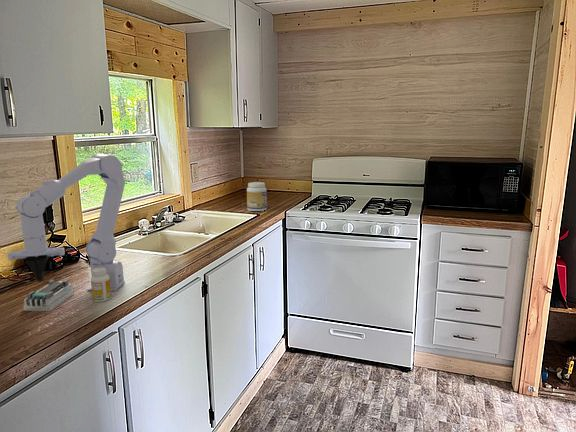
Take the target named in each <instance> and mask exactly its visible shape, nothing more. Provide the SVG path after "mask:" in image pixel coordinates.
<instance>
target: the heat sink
mask: <svg viewBox="0 0 576 432" xmlns="http://www.w3.org/2000/svg"><path fill="white" fill-rule="evenodd" d="M53 282H56V281H55V279H50V280H48V284H46V285H45V286H43V287H42V288H40V289H39V290H37V291H36V290H35V291H34V290H32V291H29V292H28V293H27V294H26V296H27V297H26V298H24V299H23V304H24V305H23V306H22V307H23V311H24V312H26V311H27V312H28V311H30V312H52V310H54V309H55V308H56V307H58V306H60V305H61V304H62V303H63V302H65V301H66V300H68V299H69V298H71V296H73V295H74V294H75V293H74V292H75V291H74V290H75V289H73V288H72V287H73V286H72V283H69V282H70V281H69V279H64V280H63V281H62V282H63V285H61V286H60V287H58V288H57V289H56V290H54V291H53V292H52V291H50V292H49V293H47V294H46V298H32V295H33V294H34V293H36V292H40V291H41V290H43V289H44V288H46V287H47V286H49V285H50V284H52V283H53Z"/></svg>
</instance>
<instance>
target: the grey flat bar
mask: <svg viewBox="0 0 576 432" xmlns="http://www.w3.org/2000/svg"><path fill="white" fill-rule="evenodd" d="M61 285H63V281H55V282H53V283H52V284H50V285H49V286H47V287H46V288H44V289H43V290H41V291H40V292H37V291H35V292H36V293H34V294H33V295H32V298H46V294H47V293H49V292H50V291H52V292H53V291H54V290H56V289H57V288H58V287H60V286H61Z"/></svg>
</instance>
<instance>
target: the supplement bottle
mask: <svg viewBox="0 0 576 432" xmlns="http://www.w3.org/2000/svg"><path fill="white" fill-rule="evenodd" d="M106 273H107V271H106V268H103V267H100V268H95V269H93V270H92V274H93V275H94V276H91V277H90V287H92V290H91V295H92V301H93V302H95V303H102V302H107V301H109V300H110V299H112V291H111V288H110V278H109V275H107V274H106Z"/></svg>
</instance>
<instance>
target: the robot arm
mask: <svg viewBox="0 0 576 432" xmlns="http://www.w3.org/2000/svg"><path fill="white" fill-rule="evenodd" d="M123 166H124V165H123V163H122V162H121V160H120V159H119V158H118V157H117V156H116V155H113V154H102V153H94V154H93V155H92V156H91V157H87V158H85V159H84V160H83V161H82V162H81V163H79V164H78V165H77V166H75V167H74V168H72V169H71V170H70V171H68V172H67V173H66V174H64V175H63V176H61V178H59V179H58V180H57V179H50V180H48V179H46V180H44V181H43V184H42V185H41V186H39V187H37V188H35V189H34V190H30V191H29V192H28V195H23V196H21V197H19V198H18V200H17V202H16V205H15V210H16V211H17V212H18V213H19V216H20V224H21V231H22V239H23V246H24V249H22V250H16V251H9V252H8V253H7V258H8V261H13V260H19V259H26V261H25V264H26V265H27V266H28V267H29V269H31V271H32V273H33V274H34V276H35V279H36V281H37V282H42V281H44V279H45V270H46V266H47V262H48V260H49V257H52V256H53V257H54V256H60V257H61V256H65V253H66V252H65V247H48V243H47V236H46V229H45V228H46V227H45V223H44V216H43V214H44V213H45V211H46V208H48V207H49V206H51V205H52V204H54V203H55V202H56V201H58V200H59V199H61V198H62V197H64V196H65V195H66V190H67V189H68V188H70V187H71V186H72V185H74V184H76V183H78V182H79V181H81V180H83V179H84V178H86V177H87V176H91V175H98V176H99V177H100V178H101V179H102V180H103V182H104V184H106V186H105V192H104V195H103V200H102V204H101V208H100V212H99V218H98V222H97V225H96V228H95V229H96V230H95V231H94V232H93V233H92V234H91V237H90V239H89V242H87V244H86V245H85V253H86V255H87V256H88V257H89V258H90V259H89V265H90V266H89V267H90V275H91V277H92V276H94V275H93V274H92V270H93V269H95V268H100V267H103V268H106V271H107V273H106V274H107V275H109V278H110V288H111V292H114V291H117V290H118V289H119V288H120V287H121V286H122V285H124V284H125V282H126V281H125V280H124V277H125V276H124V267H123V263H122V262H121V261H118V260H115V258H116V256H117V249H116V244H117V241H116V238H115V236H114V235H115V234H114V233H115V229H116V225H117V219H118V216H119V212H120V207H121V203H122V198H123V194H124V189H125V184H126V180H125V176H124V171H123V168H124V167H123ZM87 291H92V287H91V286H89V287H88V288H87Z"/></svg>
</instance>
